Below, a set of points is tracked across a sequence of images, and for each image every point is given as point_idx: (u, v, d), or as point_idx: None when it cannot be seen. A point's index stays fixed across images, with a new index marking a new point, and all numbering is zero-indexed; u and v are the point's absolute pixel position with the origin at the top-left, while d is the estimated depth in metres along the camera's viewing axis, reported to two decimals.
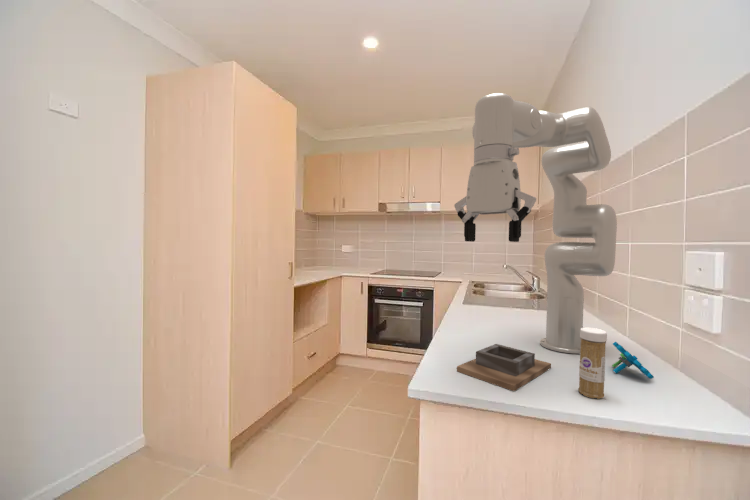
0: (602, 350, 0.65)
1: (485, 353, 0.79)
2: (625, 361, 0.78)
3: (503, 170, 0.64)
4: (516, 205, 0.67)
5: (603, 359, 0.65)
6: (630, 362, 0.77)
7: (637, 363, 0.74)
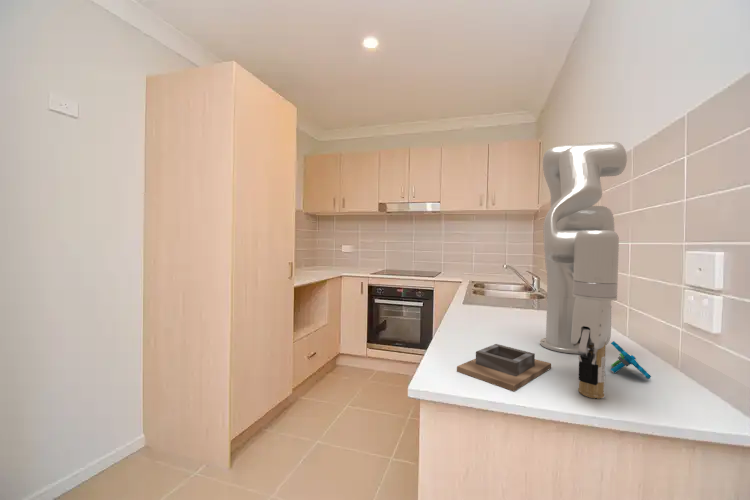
0: (602, 350, 0.65)
1: (485, 353, 0.79)
2: (623, 360, 0.78)
3: None
4: None
5: (603, 359, 0.65)
6: (628, 362, 0.78)
7: (634, 362, 0.74)
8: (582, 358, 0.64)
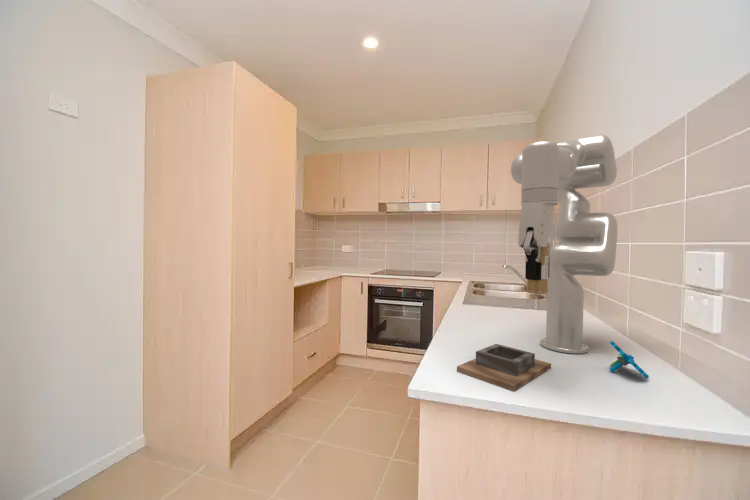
0: (546, 250, 0.73)
1: (485, 353, 0.79)
2: (621, 360, 0.79)
3: (554, 213, 0.75)
4: None
5: (546, 258, 0.73)
6: (626, 361, 0.78)
7: (631, 362, 0.74)
8: (527, 256, 0.72)
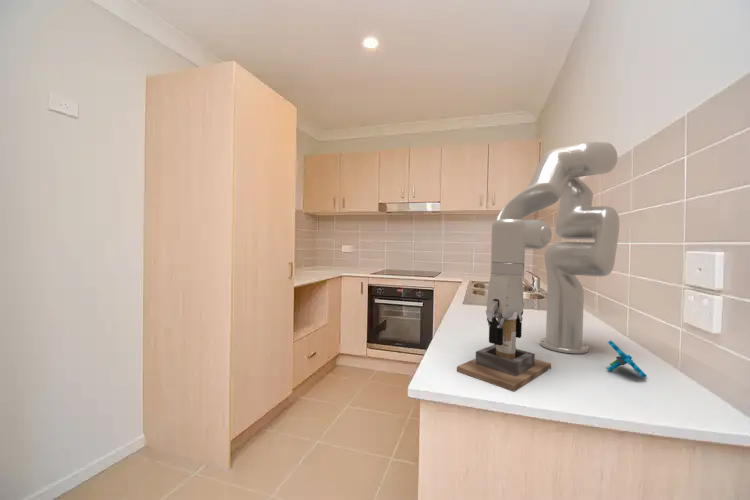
0: (512, 326, 0.78)
1: (485, 353, 0.79)
2: (619, 360, 0.79)
3: (522, 283, 0.80)
4: None
5: (513, 334, 0.78)
6: (624, 361, 0.78)
7: (628, 361, 0.75)
8: (489, 322, 0.76)
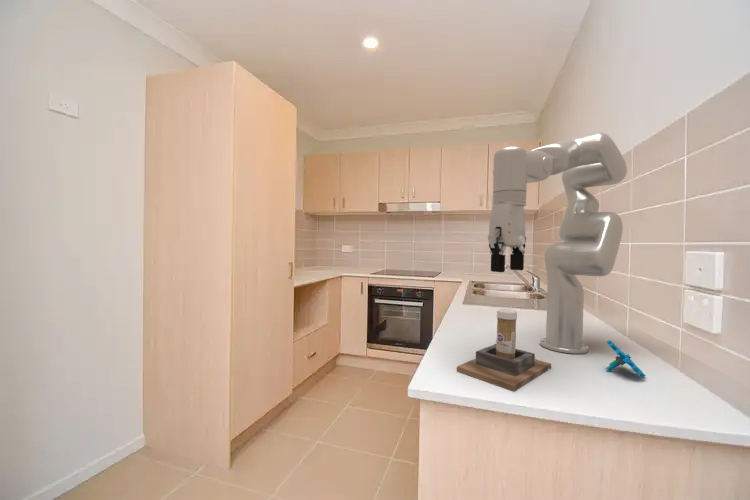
0: (512, 326, 0.78)
1: (485, 353, 0.79)
2: (618, 359, 0.79)
3: (524, 214, 0.80)
4: None
5: (513, 334, 0.78)
6: (623, 361, 0.78)
7: (626, 361, 0.75)
8: (491, 249, 0.75)
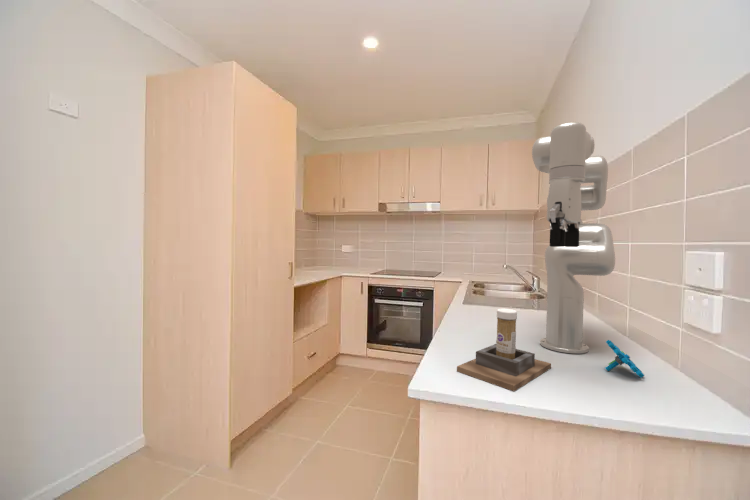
0: (512, 326, 0.78)
1: (485, 353, 0.79)
2: (617, 359, 0.79)
3: (580, 191, 0.81)
4: None
5: (513, 334, 0.78)
6: (621, 360, 0.78)
7: (624, 361, 0.75)
8: (552, 224, 0.76)
